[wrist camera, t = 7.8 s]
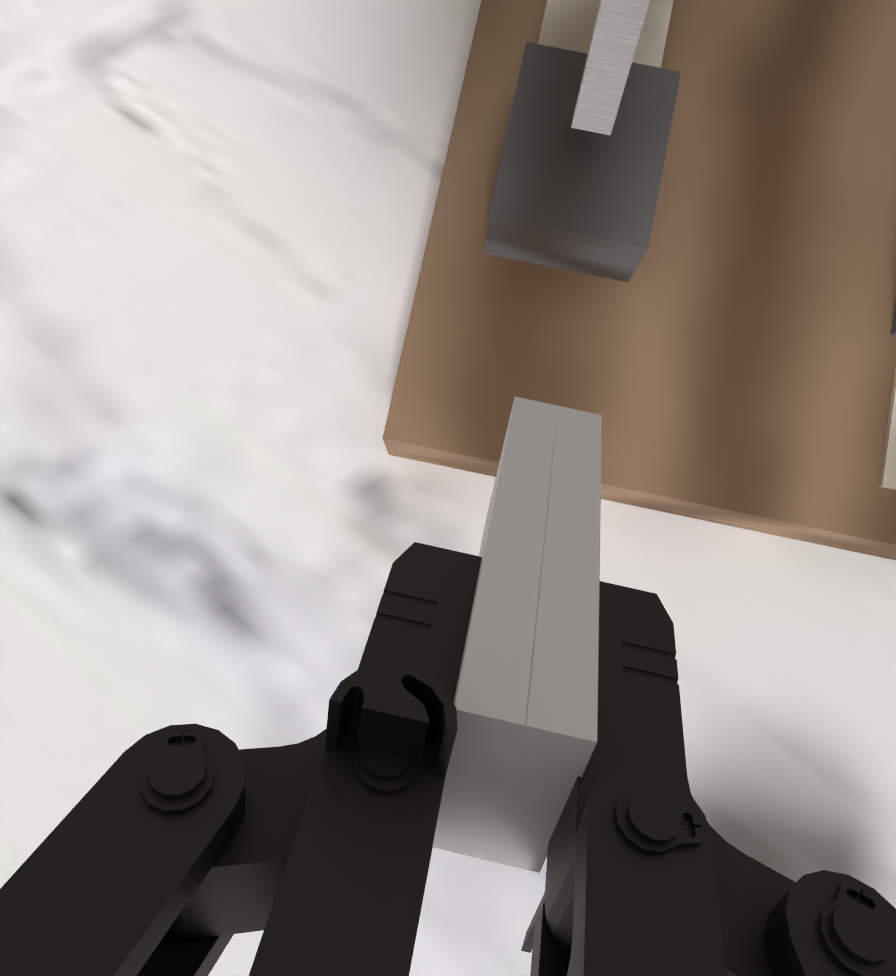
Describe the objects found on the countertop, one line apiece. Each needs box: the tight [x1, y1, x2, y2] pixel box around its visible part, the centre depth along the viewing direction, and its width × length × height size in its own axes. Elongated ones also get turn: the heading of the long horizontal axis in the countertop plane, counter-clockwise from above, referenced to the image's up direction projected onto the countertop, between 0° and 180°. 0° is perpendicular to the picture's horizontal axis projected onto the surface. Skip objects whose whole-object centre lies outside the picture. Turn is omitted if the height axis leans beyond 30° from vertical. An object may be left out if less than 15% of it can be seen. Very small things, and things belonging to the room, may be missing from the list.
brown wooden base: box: [383, 0, 896, 560], centre depth 27 cm, size 23×20×6 cm
